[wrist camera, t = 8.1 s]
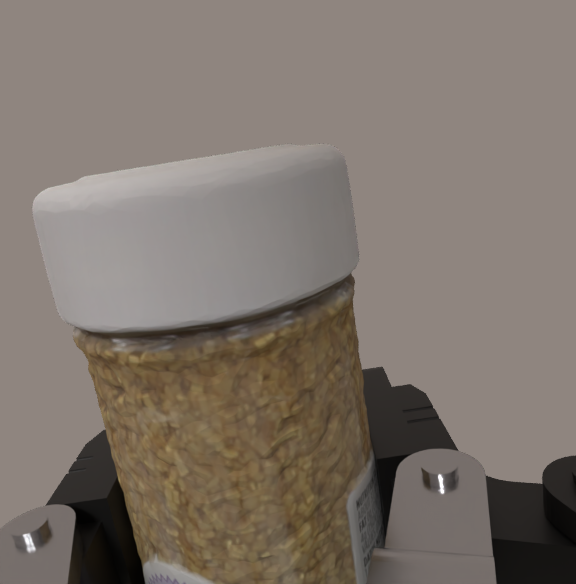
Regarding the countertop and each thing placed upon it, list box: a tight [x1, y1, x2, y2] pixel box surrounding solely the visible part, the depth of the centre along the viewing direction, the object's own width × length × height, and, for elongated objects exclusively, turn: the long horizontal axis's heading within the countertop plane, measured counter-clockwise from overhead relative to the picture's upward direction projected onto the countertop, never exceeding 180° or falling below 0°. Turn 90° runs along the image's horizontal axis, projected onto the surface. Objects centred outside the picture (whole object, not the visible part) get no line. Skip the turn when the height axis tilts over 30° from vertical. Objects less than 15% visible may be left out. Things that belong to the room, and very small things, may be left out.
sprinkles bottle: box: [32, 144, 386, 584], centre depth 10 cm, size 5×5×14 cm
